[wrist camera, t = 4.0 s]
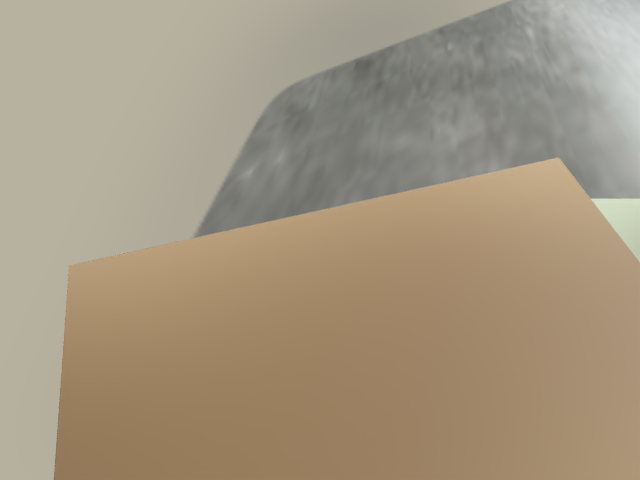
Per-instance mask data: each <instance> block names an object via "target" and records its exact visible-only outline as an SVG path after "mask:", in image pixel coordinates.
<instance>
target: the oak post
mask: <svg viewBox="0 0 640 480" xmlns="http://www.w3.org/2000/svg"><path fill="white" fill-rule="evenodd" d="M66 304H67V305H66V317H65V331H64V346H63V359H62V374H61V388H60V402H59V417H58V431H57V444H56V458H55V473H54V480H640V262H639V261H638V259H637V258H636V257H635V255H634V254H633V253H632V252H631V250H630V249H629V248H628V246H627V245H626V244H625V243H624V241H623V240H622V239H621V237H620V236H619V235H618V233H617V232H616V231H615V230H614V228H613V227H612V226H611V224H610V223H609V222H608V221H607V219H606V218H605V217H604V215H603V214H602V213H601V212H600V210H599V209H598V208H597V206H596V205H595V204H594V202H593V201H592V200H591V199H590V197H589V196H588V195H587V193H586V192H585V191H584V190H583V188H582V187H581V186H580V184H579V183H578V182H577V180H576V179H575V178H574V177H573V175H572V174H571V173H570V171H569V170H568V169H567V168H566V166H565V165H564V164H563V162H562V161H561V160H560V159H559V158H555V159H550V160H546V161H541V162H537V163H532V164H527V165H523V166H518V167H514V168H509V169H505V170H500V171H496V172H491V173H487V174H482V175H478V176H473V177H469V178H464V179H459V180H455V181H450V182H446V183H441V184H437V185H432V186H428V187H423V188H419V189H414V190H410V191H405V192H401V193H396V194H391V195H387V196H382V197H378V198H373V199H369V200H364V201H360V202H355V203H351V204H346V205H342V206H337V207H333V208H328V209H323V210H319V211H314V212H310V213H305V214H301V215H296V216H292V217H287V218H283V219H278V220H274V221H269V222H265V223H260V224H255V225H251V226H246V227H242V228H237V229H233V230H228V231H224V232H219V233H215V234H210V235H206V236H201V237H197V238H192V239H188V240H183V241H178V242H174V243H169V244H165V245H160V246H156V247H152V248H147V249H142V250H138V251H133V252H129V253H124V254H119V255H115V256H111V257H106V258H101V259H97V260H92V261H88V262H83V263H79V264H74V265H70V266H69V275H68V289H67V303H66Z"/></svg>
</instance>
